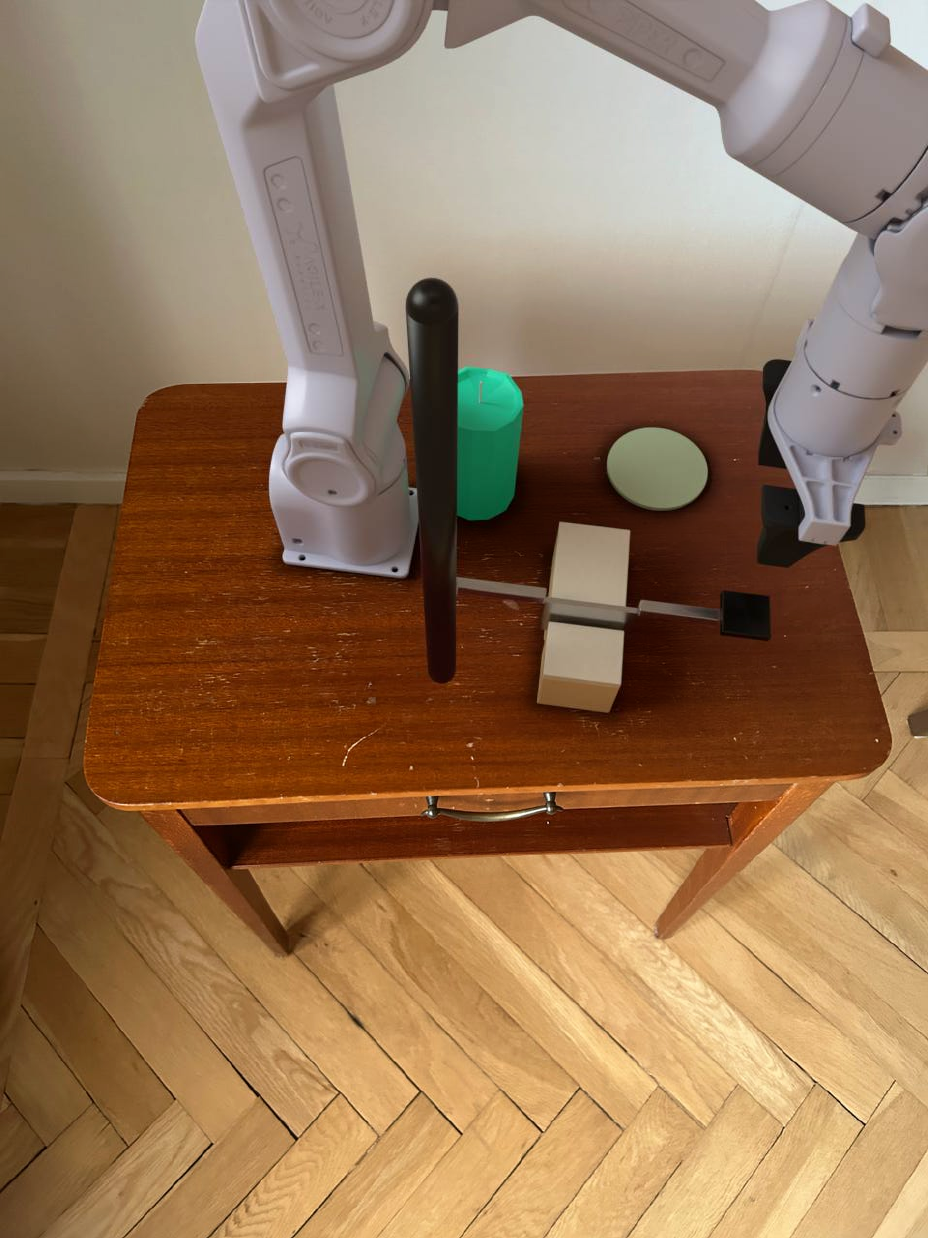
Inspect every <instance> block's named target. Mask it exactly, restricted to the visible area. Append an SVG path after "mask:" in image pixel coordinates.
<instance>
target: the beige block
mask: <svg viewBox="0 0 928 1238" xmlns="http://www.w3.org/2000/svg"><path fill="white" fill-rule="evenodd" d="M624 642H625V640H624V631H620V630H612V629H605V628H597V627H589V626H581V625H573V624H565V623H558V622H549V624H548V629H547V634H546V638H545V640H544V643H543V647H542V653H541V662H540V671H539V672H540V673H539V681H538V691H537V699H536V703H537V704H541V705H547V706H554V707H562V708H569V709H577V710H584V711H592V712H599V713H608V714H609V713H610V712H611V709H612V706H613V704H614V702H615V699H616V698H617V694H618V691H619V690H620V688H621V685H622V677H623V661H624V660H623V658H624V644H625V643H624Z"/></svg>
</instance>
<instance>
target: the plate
mask: <svg viewBox="0 0 928 1238" xmlns="http://www.w3.org/2000/svg"><path fill="white" fill-rule="evenodd" d="M606 471H607V473H606V474H607V477H608V479H609V482H610V483H611V485H612V487H613V489H614V490H615V491H616V492H617V494H619V495H620V496H621V497H622V498H623V499H625V500H626V501H627V502H629V503H631V504H633V505H634V506H637V507H639V508H642V509H646V510H651V511H657V512H658V511H660V512H665V511H666V512H668V511H674V510H675V511H676V510H678V509H682V508H684V507H686V506H688V505H689V504H691V503H693V502H694V501H695V500H696V499H697V498H698V497H699V496H700V495H701V494H702V492H703V490H704V489H705V487H706V484H707V481H708V475H709V469H708V464H707V461H706V457H705V456H704V454H703V452H702V450H700V448H699V447H698V445H696V443H694V442H693V441H692V440H691V439H689V437H687V436H685V435H683V434H681V433H679V432H677V431H674V430H671V429H667V428H664V427H663V428H662V427H652V426H651V427H641V428H637V429H634V430H631V431H628V432H627V433H625V434H623V435H622V436H621V437H619V438H618V439H617V440H616V441H615V442H614V443H613V445H612V446H611V447H610V450H609V452H608V455H607V459H606Z"/></svg>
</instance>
